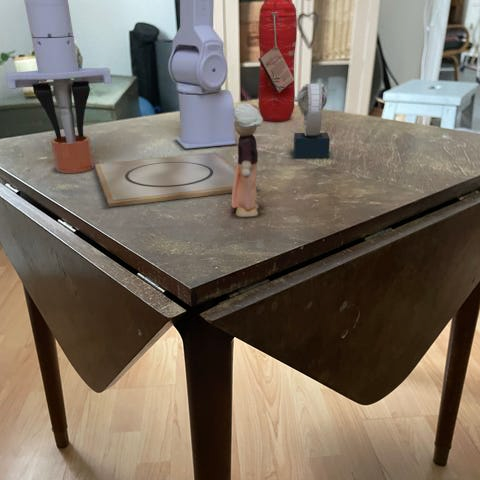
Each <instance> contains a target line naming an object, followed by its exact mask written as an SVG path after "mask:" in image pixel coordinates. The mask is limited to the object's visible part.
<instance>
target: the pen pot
mask: <svg viewBox="0 0 480 480" xmlns="http://www.w3.org/2000/svg"><path fill="white" fill-rule="evenodd" d="M83 135H84V134H83ZM75 136H76V142H71V143H67V141H66V137H65V135H61V138H56V137H53V138H52V139H50V143H51V150H52V154H53V159H54V164H55V170H56V171H57V172H58V173H63V174H78V173H84V172H89V171H90V170H92V169H94V168H95V163H94V156H93V150H92V144H91V138H90V136H88V135H84V136H82V137H79V135H78V134H75Z"/></svg>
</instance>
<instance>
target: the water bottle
mask: <svg viewBox="0 0 480 480" xmlns="http://www.w3.org/2000/svg"><path fill="white" fill-rule="evenodd" d="M296 8H297V7H296V6H295V4H294V2H293V0H264V1H263V3H262V5H261V7H260V9H259V15H258V46H259V49H258V50H259V57H258V58H257V60H258V62H259V80H258V111H259V113H260V115H261V117H262V118H263V121H267V122H275V123H276V122H277V123H278V122H285V121H288V120H290V119H291V118H292V115H293V113H294V109H295V97H296V90H295V89H296V88H295V55H296V47H297V46H296V45H297V38H298V37H297V32H298V30H297V29H298V19H297V9H296Z"/></svg>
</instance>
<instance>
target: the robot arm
mask: <svg viewBox="0 0 480 480" xmlns="http://www.w3.org/2000/svg"><path fill="white" fill-rule="evenodd" d="M23 2H24V6H25V10H26V16H27V22H28V28H29V32H30V37H31V42H32V47H33V52H34V58H35V62H36V63H35V64H36V67H37V70H28V71H27V70H25V71H15V72H6V73H5V79H6V83H7V88H8V89H9V90H14V89H22V88H32V91H33V94H34V96H35V98H36V99H37V100H38V102H39V103H40V105H41V107H42V108H43V110H44V112H45V113H46V115H47V117H48V119H49V121H50V123H51V125H52V128H53V130H54V134H55V138H61V136H62V134H61V128H60V125H59V121H58V120H59V119H58V117H57V112H56V109H55V102H54V96H53V90H52V87H53V86H54V85H53V81H54V80H57V79H68V80H69V83H70V84H69V85H70V86H71V91H72V100H73V104H74V105H73V106H74V110H75V123H76V129H77V135H79V137H82V136H84V120H85V114H86V107H87V104H88V100H89V96H90V92H91V87H90V84H91V85H92V84H112V75H111V69H110V68H109V67H83V68H81V67H79V63H78V57H77V50H76V43H75V37H74V31H73V24H72V18H71V12H70V6H69V5H70V4H69V0H24V1H23ZM214 2H215V1H214V0H179V28H178V30H177V31H176V33H175V35H174V37H173V38H172V49H171V50H172V51H171V53H170V56H169V59H168V65H167V67H168V69H167V70H168V73H169V76H170V78H171V80H172V81H173V83H175V84H176V86H175V87H176V90H177V94H178V95H177V96H178V97H177V98H178V107H179V108H178V109H179V124H180V136H176V137H175V140H176V141H177V143H179V145H180V146H181V147H183V148H184V149H187V150H189V149H199V148H208V147H210V148H211V147H219V146H221V147H222V146H230V145H236V144H237V141H236V139H235V138H236V137H235V127H234V123H235V118H234V110H235V105H234V97H233V95H232V93H231V91H230V90H229V89H222V86H224V84H225V82H226V80H227V76H228V62H227V59H226V56H225V51H224V48H225V47H224V45H225V44H224V41H223V40H222V38H221V37H220V36H219V34H218V33H217V32H216V30H215V29H214V10H215V9H214V6H215V5H214ZM70 79H73V80H70ZM48 80H49V81H48ZM51 80H52V81H51Z"/></svg>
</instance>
